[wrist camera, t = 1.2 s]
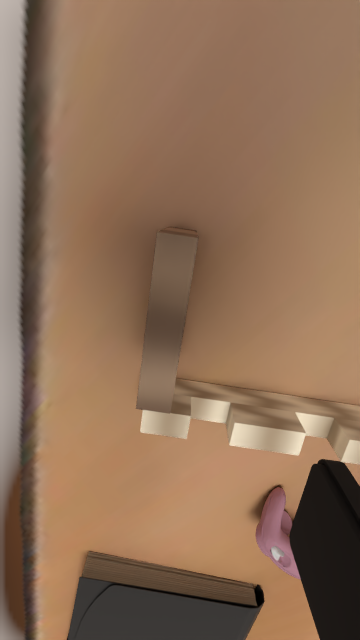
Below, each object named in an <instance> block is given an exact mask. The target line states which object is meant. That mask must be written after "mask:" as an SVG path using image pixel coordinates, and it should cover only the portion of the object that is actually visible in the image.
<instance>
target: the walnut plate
mask: <svg viewBox="0 0 360 640" xmlns="http://www.w3.org/2000/svg"><path fill="white" fill-rule="evenodd" d="M198 239H199V238H198V235H197V232H196V231H193V230H187V229H180V228H174V227H168V228H165V229H163V230H160V231H158V232H157V237H156V245H155V254H154V262H153V270H152V279H151V287H150V296H149V304H148V313H147V321H146V329H145V338H144V346H143V355H142V363H141V371H140V380H139V388H138V397H137V405H136V409H141V410H148V411H154V412H161V413H168V414H170V411H171V405H172V399H173V393H174V387H175V380H176V374H177V368H178V362H179V356H180V350H181V343H182V337H183V331H184V325H185V319H186V313H187V306H188V300H189V294H190V288H191V282H192V276H193V269H194V263H195V257H196V251H197V245H198Z"/></svg>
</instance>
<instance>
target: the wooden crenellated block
mask: <svg viewBox="0 0 360 640" xmlns="http://www.w3.org/2000/svg"><path fill="white" fill-rule="evenodd" d="M190 418H192V419H199V420H205V421H212V422H219V423H226V429H227V435H228V441H229V445H231V446H237V447H244V448H251V449H258V450H265V451H271V452H278V453H285V454H292V455H299V453H300V450H301V447H302V444H303V441H304V438H305V435H307V436H314V437H320V438H327V440H328V441H329V443H330V445H331V446H332V448H333V449H334V451H335V453H336V454H337V456H338V458H339V459H340V461H341V462H346V463H353V464H360V406H358V405H351V404H344V403H338V402H331V401H324V400H318V399H311V398H304V397H298V396H291V395H284V394H278V393H271V392H264V391H258V390H251V389H244V388H237V387H231V386H224V385H217V384H211V383H204V382H197V381H191V380H184V379H177V378H176V380H175V387H174V393H173V399H172V405H171V411H170V414H168V413H161V412H154V411H148V410H143V414H142V422H141V430H140V432H142V433H149V434H156V435H163V436H169V437H176V438H183V439H187V434H188V428H189V423H190Z"/></svg>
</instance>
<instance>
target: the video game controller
mask: <svg viewBox="0 0 360 640" xmlns="http://www.w3.org/2000/svg"><path fill="white" fill-rule="evenodd" d="M285 503H286V496H285V492H284V490H283V489H282V488H280V487H277V488H275V489H274V490H273V491H272V492H271V493H270V495H269V496H268V498H267V500H266V502H265V505H264V508H263V511H262V515H261V520H260V523H259V524H258V526H257V528H256V540H257V544H258V546H259V548H260V549H261V551H262V552H263V553H264V554H265V555H266V556H268V557H270V559H271V560H272V561H273V562H274V563H275V564H276V565H277V566H278V567H279V568H280V569H282V570H283V571H284V572H286V573H287V574H289V575H291V576H293V577H295V578H298V579H301V578H300V575H299V572H298V569H297V566H296V562H295V559H294V556H293V553H292V550H291V546H290V539H289V537H288V536H287V535H288V534H289V533H290V530H291V527H292V521H291V518H290V516H289V515H288V513H287V512H285V511H284V508H285Z"/></svg>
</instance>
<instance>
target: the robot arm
mask: <svg viewBox="0 0 360 640" xmlns="http://www.w3.org/2000/svg"><path fill="white" fill-rule="evenodd" d="M289 539H290V546H291V550H292V553H293V556H294V559H295V562H296V566H297V569H298V572H299V575H300V578H301V581H302V584H303V588H304V591H305V594H306V597H307V600H308V603H309V607H310V610H311V613H312V616H313V619H314V622H315V625H316V629H317V632H318V635H319V638H320V640H360V486H359V485H358V483H357V482H356V480H355V479H354V477H353V476H352V474H351V472H350V471H349V469H348V468H347V466H346V465H345V464H344V463H343V462H340V461H332V460H325V459H321V460H319V461H318V463H317V464H313V465H312V467H311V470H310V473H309V476H308V479H307V482H306V485H305V488H304V491H303V494H302V497H301V500H300V503H299V506H298V509H297V512H296V515H295V518H294V521H293V524H292V527H291V530H290V536H289Z"/></svg>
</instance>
